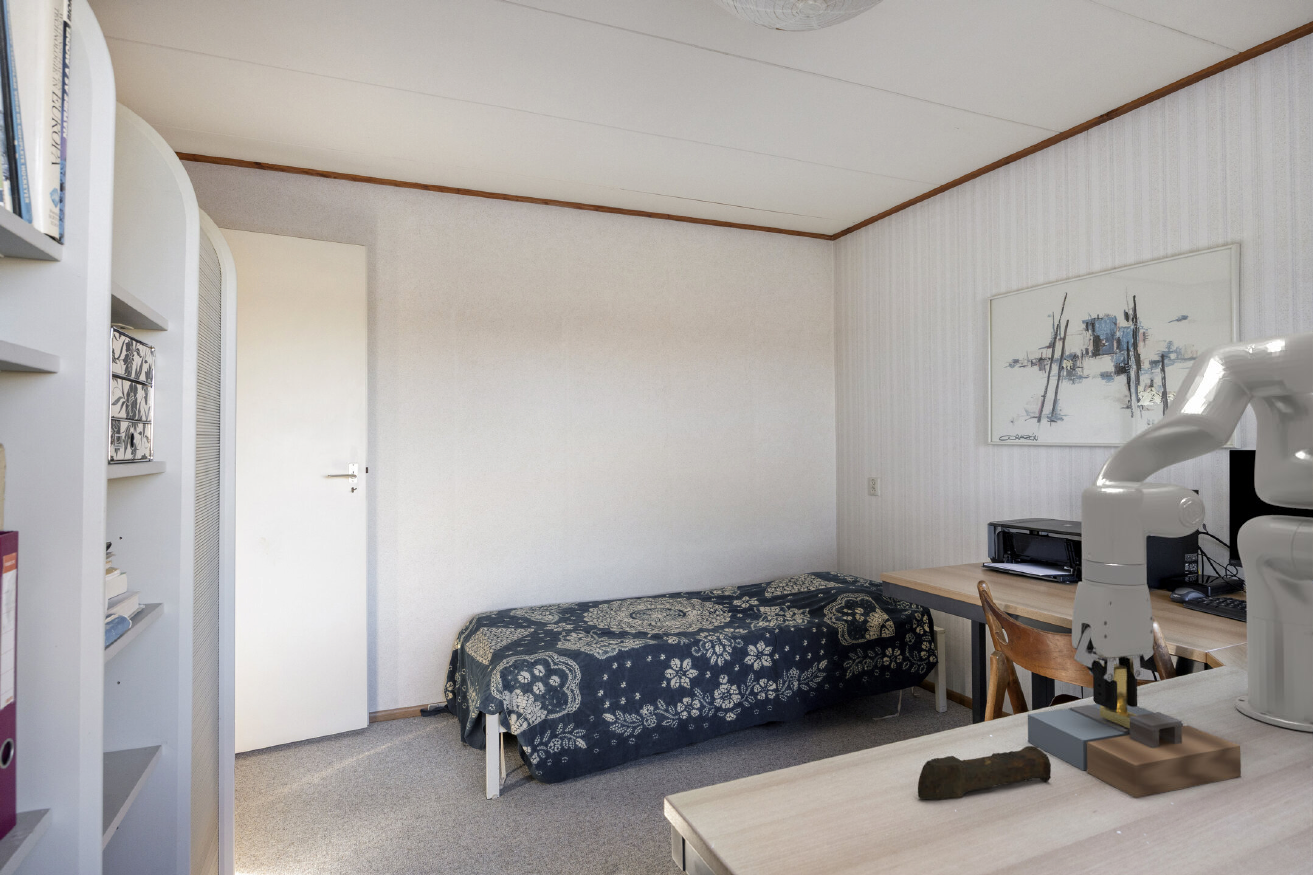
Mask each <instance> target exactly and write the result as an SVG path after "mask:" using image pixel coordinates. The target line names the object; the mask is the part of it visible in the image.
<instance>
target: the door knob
mask: <svg viewBox="0 0 1313 875" xmlns="http://www.w3.org/2000/svg"><path fill="white" fill-rule="evenodd" d="M1102 665H1103V666H1104V663H1102ZM1113 680H1115V681H1117V709H1116V710H1111V709H1108V708H1106V707H1104V706H1100V716H1101V717H1103V718H1106V719H1108V720H1110V721H1113V722H1115V723H1118V724H1120V725H1122V726H1125V727H1127V728H1129V729H1130V716H1137V715H1136V714H1133V713H1131V712H1128V711H1127V668H1126V667H1125V666H1122V665H1119V664H1116V663H1114V677H1113ZM1159 735H1160V729H1159Z"/></svg>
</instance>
